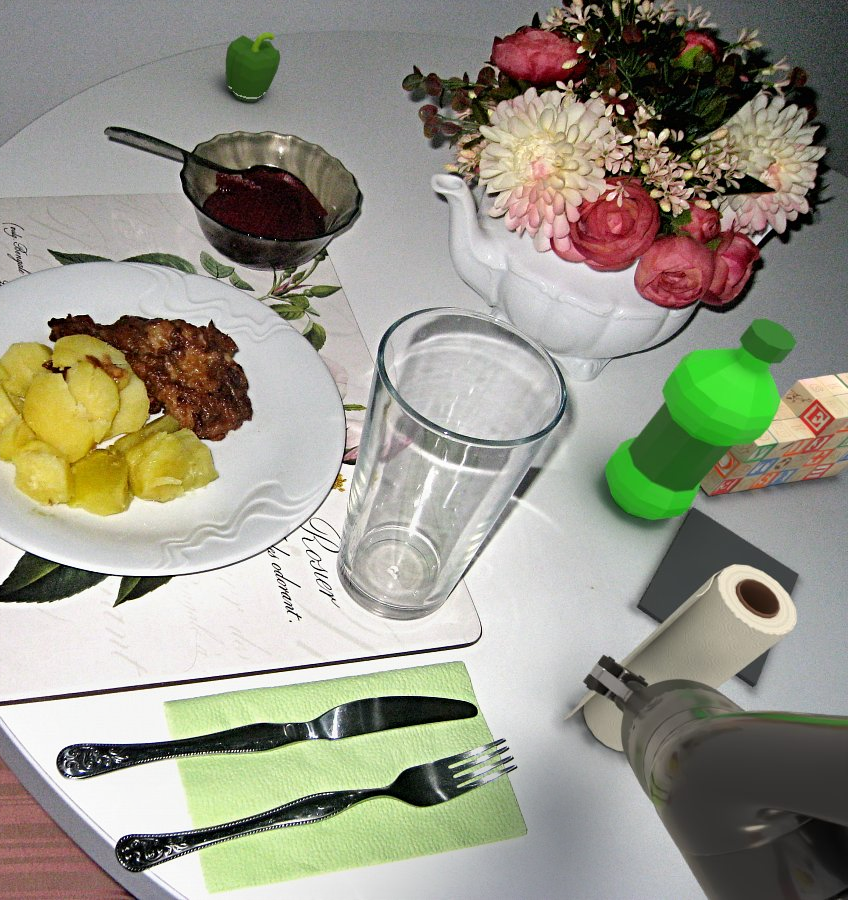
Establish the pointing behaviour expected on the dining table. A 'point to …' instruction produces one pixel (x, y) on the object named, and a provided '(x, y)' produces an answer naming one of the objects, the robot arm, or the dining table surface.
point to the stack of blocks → (791, 441)
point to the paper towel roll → (703, 640)
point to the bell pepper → (251, 66)
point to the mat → (707, 571)
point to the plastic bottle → (699, 422)
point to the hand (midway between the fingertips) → (653, 703)
